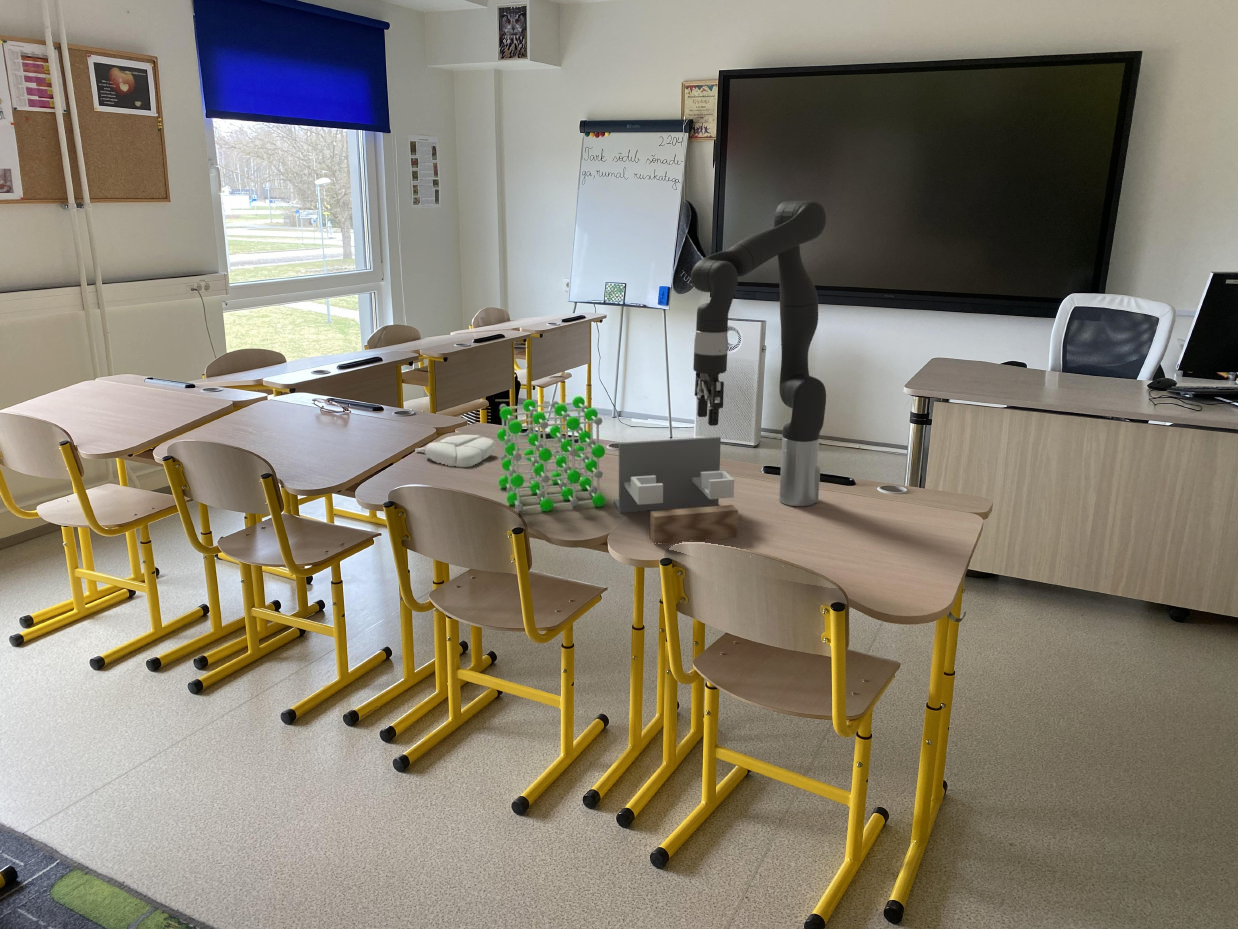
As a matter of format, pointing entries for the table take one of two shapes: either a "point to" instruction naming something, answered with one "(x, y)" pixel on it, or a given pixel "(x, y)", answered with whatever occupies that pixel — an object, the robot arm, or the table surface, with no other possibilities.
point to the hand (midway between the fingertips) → (707, 420)
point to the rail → (693, 524)
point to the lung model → (460, 450)
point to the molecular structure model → (546, 454)
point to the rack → (671, 474)
